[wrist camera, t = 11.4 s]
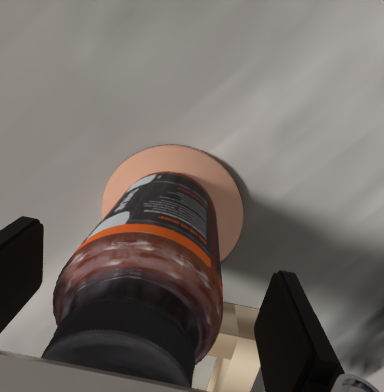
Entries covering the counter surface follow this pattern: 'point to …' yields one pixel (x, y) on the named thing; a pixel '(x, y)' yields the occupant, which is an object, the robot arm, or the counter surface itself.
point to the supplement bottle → (144, 285)
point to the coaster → (192, 167)
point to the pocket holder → (235, 351)
